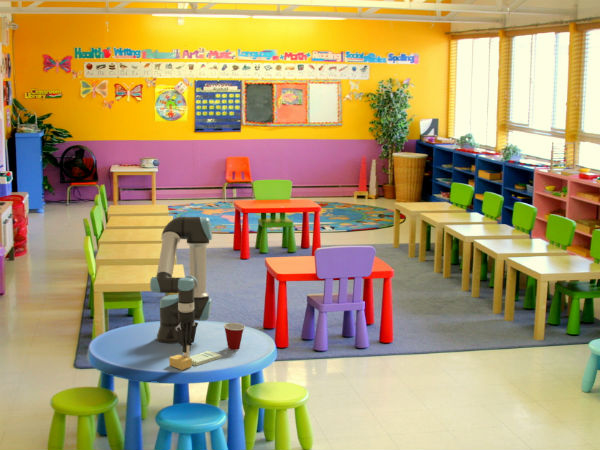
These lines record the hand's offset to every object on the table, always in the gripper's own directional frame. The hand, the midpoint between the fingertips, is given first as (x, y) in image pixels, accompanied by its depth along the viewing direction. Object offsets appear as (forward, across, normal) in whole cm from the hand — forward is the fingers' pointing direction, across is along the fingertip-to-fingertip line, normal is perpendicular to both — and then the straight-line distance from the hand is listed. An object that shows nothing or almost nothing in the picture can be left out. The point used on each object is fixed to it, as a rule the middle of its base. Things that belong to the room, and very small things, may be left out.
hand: (186, 358), depth 387 cm
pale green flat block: (+3, +10, 0) cm, 11 cm away
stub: (+3, -4, 0) cm, 5 cm away
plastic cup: (+3, +33, +1) cm, 33 cm away
